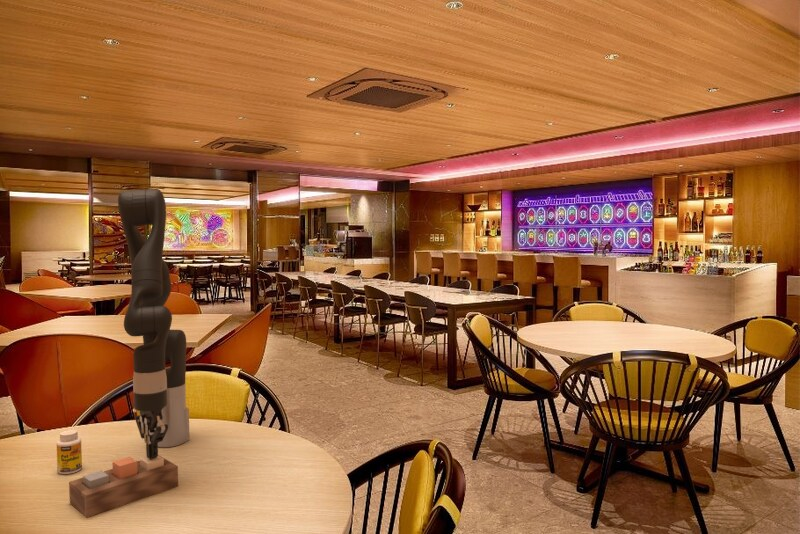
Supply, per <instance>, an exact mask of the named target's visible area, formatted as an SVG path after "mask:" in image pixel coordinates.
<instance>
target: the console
mask: <svg viewBox="0 0 800 534" xmlns="http://www.w3.org/2000/svg"><path fill="white" fill-rule="evenodd" d="M158 456H160V457H162V458H163V459H164V466H161V467H158V468H155V469H152V470H148V471H146V470H145V469H143V468H142V467H140V460H136V461H137V474H136V475H132V476H129V477H126V478H123V479H120V480H119V479H118V478H116V477H115V476H113V468H110V469H107V470H104V471H103V470H102V471H103V472H104V473H106V474H107V475H109V483H107V484H104V485H101V486H98V487H94V488H91V489H89V488H87V487H86V486H85V485H83V477H81V478H77V479H74V480H70V481H69V482H68V494H69V495H68V496H69V504H70V505H72V506H73V508H75V509H76V510H77V511H78V512H79V513H81V514H82V515H83V517H85V518H89V517H93V516H96V515H98V514H102V513H103V512H107V511H110V510H113V509H116V508H119V507H122V506H124V505H127V504H129V503H133V502H136V501H139V500H141V499H144V498H149V496H153V495H156V494H159V493H161V492H164V491H168V490H171V489H173V488H177V487H179V468H178V465H177V464H175V463H173V462H172V461H169V460H168V459H166V458H164V457H163V456H161V455H159V454H158Z"/></svg>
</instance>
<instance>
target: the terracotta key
mask: <svg viewBox="0 0 800 534" xmlns="http://www.w3.org/2000/svg"><path fill="white" fill-rule="evenodd" d="M137 461H138V460H136V459H134V458H133V457H131V456H127V457H123V458H120V459H117V460H114V461H112V469H113V476H115V477H116V478H118V479H119V480H120V479H123V478H126V477H129V476H132V475H136V474H137Z"/></svg>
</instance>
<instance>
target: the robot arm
mask: <svg viewBox="0 0 800 534" xmlns="http://www.w3.org/2000/svg"><path fill="white" fill-rule="evenodd" d="M117 198H118V199H117V206H118V211H119V216H120V222H121V224H122V229H123V232H124V236H125V237H124V238H125V240H126V244H127V247H128V248H127V249H128V253H129V259H130V266H131V273H130V274H131V275H130V276H131V277H130V278H131V291H130V292H131V293H130V298H129V302H128V307H127V309H126V313H125V315H124V318H123V319H124V320H123V328H124V331H125V333H126V334H127V335H128V336H130V337H142V342H143V344H142V345H138V346H136V347H135V348H134V349H133V354H132V355H133V377H132V387H133V389H132V390H133V391H132V392H133V396H132V397H133V409H134V410H136V412H137V411H139V415H135V416H134V420H135V423H136V426H137V429H138V432H139V435H140V438H141V439H142V440H143V441H144V444H145V446H146V447H145V450H146V451H145V453H146V454H145V455H146V457H147V458H149V459H153V458H157V457H158V455H159V448H170V447H176V446H179V445H182V444H184V443H185V442H187V441H189V440H190V439H191V438H190V409H189V408H188V407H187V396H186V395H187V393H186V376H187V375H186V373H187V337H186V334H185V332H184V331H183V330H181V329H171V326H172V322H173V314H172V312H171V310H170V309H169V308H168V307H167V306H165V304H166V303H167V301H168V299H169V297H170V295H171V292H172V282H171V275H170V269H169V267H168V265H167V263H166V261H165V260H164V259H163V254H164V245H165V233H166V224H167V205H166V199H165V196H164V194H163V192H162V191H161V190H160V189H154V188H153V189H151V188H150V189H149V188H147V189H133V190H132V189H131V190H123V191H121V192H119V194H118V197H117ZM140 226H151V229H150V233H149V235H148V237H147V239H146V240H145V239H144V237H143V235H142V233H141V231H140V229H139V227H140ZM166 362H167V363H168V362H170V367H169V368H167V369H166Z"/></svg>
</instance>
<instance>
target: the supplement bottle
mask: <svg viewBox="0 0 800 534" xmlns="http://www.w3.org/2000/svg"><path fill="white" fill-rule="evenodd" d="M82 452H83V451H82V439H81V437H80V436H79V435H78V430H77V429H68V430H64V431H62V432H59V439H58V440H57V442H56V466H57V473H58V474H60V475H72V474H74V473H76V472H79V471H80V470H82V468H83V462H82V461H83V455H82Z"/></svg>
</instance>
